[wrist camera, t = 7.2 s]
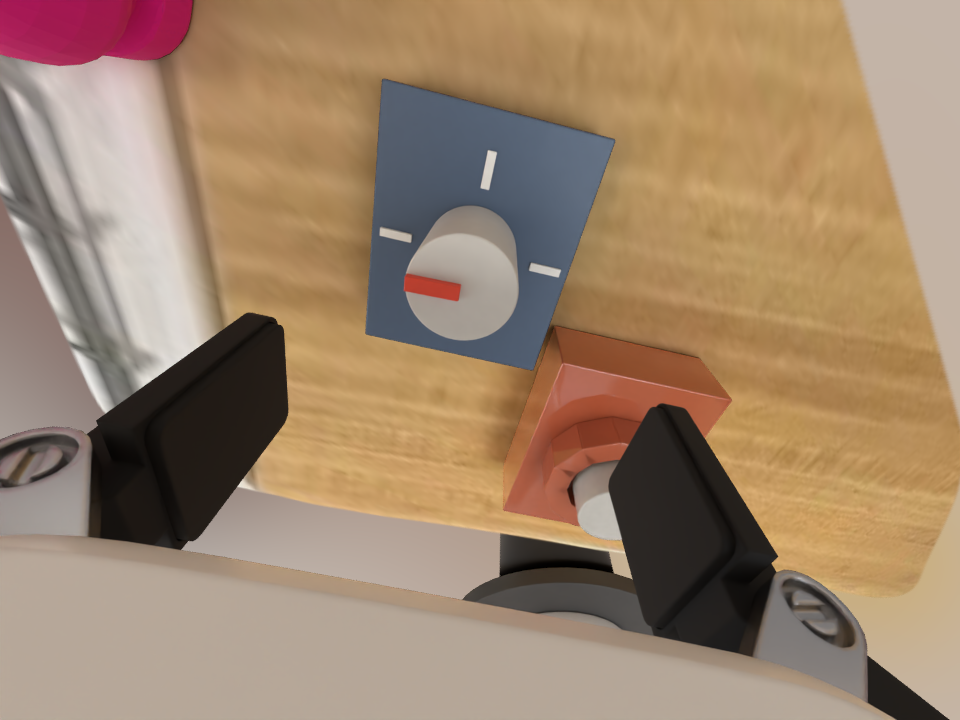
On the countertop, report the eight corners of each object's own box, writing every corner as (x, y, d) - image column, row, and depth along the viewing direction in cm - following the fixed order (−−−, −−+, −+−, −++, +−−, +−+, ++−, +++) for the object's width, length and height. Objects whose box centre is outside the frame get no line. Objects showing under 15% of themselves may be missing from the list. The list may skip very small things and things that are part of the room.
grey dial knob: (525, 215, 16) (532, 249, 12) (505, 301, 19) (504, 354, 14) (432, 196, 16) (407, 224, 12) (422, 285, 18) (398, 333, 14)
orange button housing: (618, 487, 29) (641, 565, 24) (503, 464, 29) (502, 539, 24) (700, 358, 23) (754, 426, 18) (554, 325, 22) (568, 387, 17)
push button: (628, 513, 22) (638, 546, 21) (562, 500, 22) (566, 533, 20) (660, 467, 20) (674, 499, 19) (587, 452, 20) (594, 484, 18)
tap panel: (530, 343, 23) (533, 373, 21) (380, 309, 23) (363, 336, 20) (600, 135, 17) (617, 140, 15) (400, 83, 17) (380, 77, 14)
